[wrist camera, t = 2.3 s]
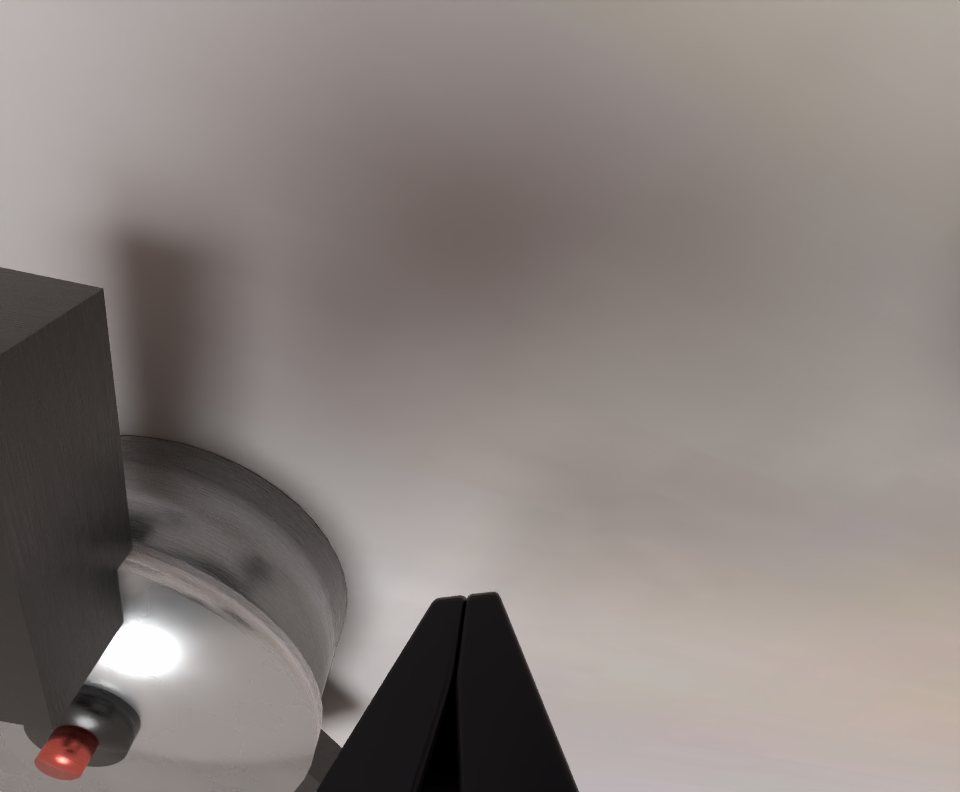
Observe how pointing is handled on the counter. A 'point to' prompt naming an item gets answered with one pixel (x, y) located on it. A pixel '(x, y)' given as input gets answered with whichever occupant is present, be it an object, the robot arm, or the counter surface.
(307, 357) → the counter surface
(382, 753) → the robot arm
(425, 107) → the counter surface
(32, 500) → the lid
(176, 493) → the grey round flat pan
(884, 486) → the counter surface
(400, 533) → the counter surface
